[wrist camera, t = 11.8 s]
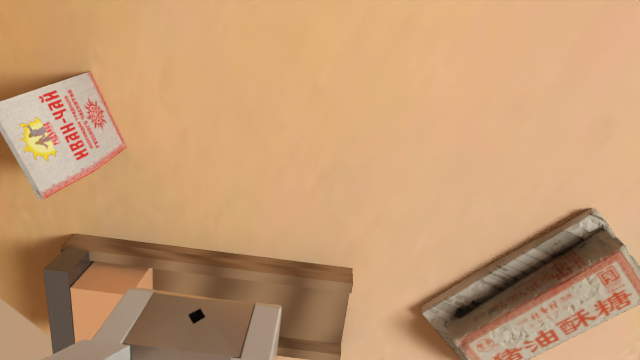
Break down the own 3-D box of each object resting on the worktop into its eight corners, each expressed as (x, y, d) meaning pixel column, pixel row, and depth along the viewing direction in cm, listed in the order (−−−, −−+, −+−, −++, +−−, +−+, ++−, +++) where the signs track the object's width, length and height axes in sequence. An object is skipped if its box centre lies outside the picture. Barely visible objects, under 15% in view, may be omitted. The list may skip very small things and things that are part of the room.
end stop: (81, 320, 47) (53, 356, 43) (75, 239, 44) (43, 269, 39) (101, 322, 47) (75, 358, 43) (96, 242, 44) (67, 272, 39)
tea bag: (89, 158, 42) (17, 207, 33) (51, 84, 40) (-38, 114, 31) (126, 147, 42) (64, 192, 32) (90, 71, 39) (12, 97, 30)
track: (81, 313, 48) (68, 329, 46) (75, 233, 45) (60, 247, 43) (339, 345, 48) (339, 363, 46) (352, 268, 45) (352, 283, 43)
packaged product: (620, 226, 38) (674, 312, 40) (590, 201, 42) (640, 279, 45) (425, 336, 42) (485, 407, 45) (417, 303, 47) (472, 368, 49)
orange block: (101, 310, 47) (75, 345, 42) (98, 256, 45) (70, 287, 40) (153, 316, 47) (132, 352, 42) (152, 263, 45) (130, 295, 40)
